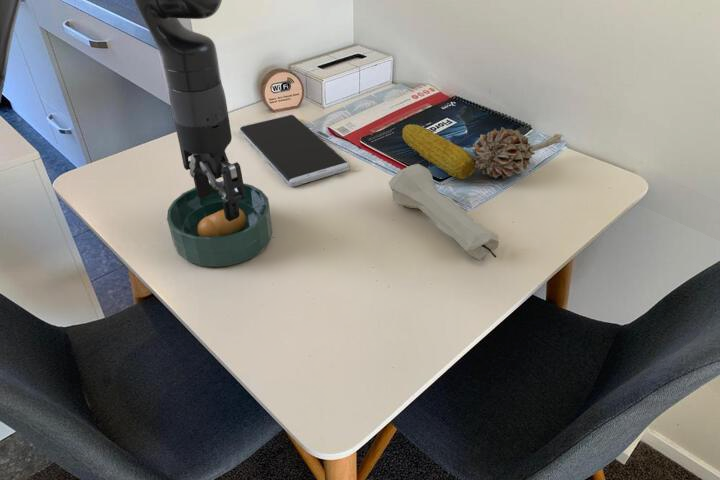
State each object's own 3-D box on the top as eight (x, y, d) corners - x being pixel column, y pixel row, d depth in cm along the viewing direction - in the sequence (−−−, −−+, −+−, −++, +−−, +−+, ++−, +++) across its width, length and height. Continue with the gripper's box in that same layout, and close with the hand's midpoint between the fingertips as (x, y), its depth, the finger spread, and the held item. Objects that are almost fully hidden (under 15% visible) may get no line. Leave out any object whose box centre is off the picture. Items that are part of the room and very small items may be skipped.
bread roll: (208, 251, 84) (204, 230, 81) (195, 239, 87) (190, 217, 84) (252, 230, 89) (249, 209, 86) (238, 219, 91) (234, 198, 88)
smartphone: (292, 119, 123) (292, 112, 122) (351, 171, 105) (351, 163, 104) (239, 132, 117) (238, 125, 116) (291, 189, 100) (290, 181, 98)
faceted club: (419, 182, 100) (515, 257, 85) (384, 205, 98) (476, 286, 83) (414, 147, 94) (518, 221, 79) (376, 170, 92) (475, 252, 76)
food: (477, 179, 103) (482, 152, 100) (455, 187, 101) (459, 160, 97) (412, 136, 117) (414, 112, 113) (391, 143, 114) (393, 118, 111)
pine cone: (489, 196, 99) (498, 149, 92) (456, 173, 105) (462, 128, 99) (569, 166, 108) (582, 121, 102) (534, 146, 114) (545, 103, 108)
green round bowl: (173, 275, 80) (164, 245, 77) (176, 215, 93) (169, 187, 89) (277, 261, 83) (273, 231, 80) (267, 204, 96) (264, 176, 92)
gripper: (152, 104, 76) (175, 197, 86) (202, 139, 68) (221, 236, 78) (198, 90, 80) (215, 180, 90) (251, 121, 72) (263, 217, 82)
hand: (218, 206), depth 84 cm, fingers open, 8 cm apart
